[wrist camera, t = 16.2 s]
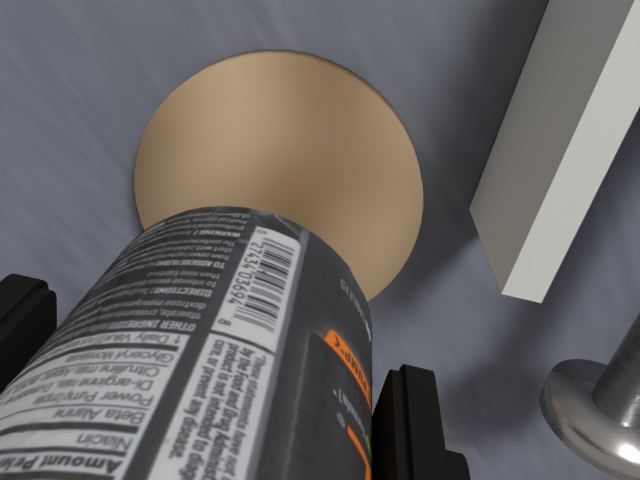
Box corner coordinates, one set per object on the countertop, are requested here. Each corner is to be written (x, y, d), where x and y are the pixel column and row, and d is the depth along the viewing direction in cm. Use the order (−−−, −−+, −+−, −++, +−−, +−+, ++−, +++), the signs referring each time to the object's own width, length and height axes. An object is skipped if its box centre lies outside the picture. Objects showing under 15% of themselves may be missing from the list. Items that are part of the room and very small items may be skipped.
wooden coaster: (137, 276, 20) (126, 291, 19) (156, 16, 16) (143, 20, 15) (378, 332, 20) (378, 349, 19) (460, 90, 16) (465, 98, 15)
